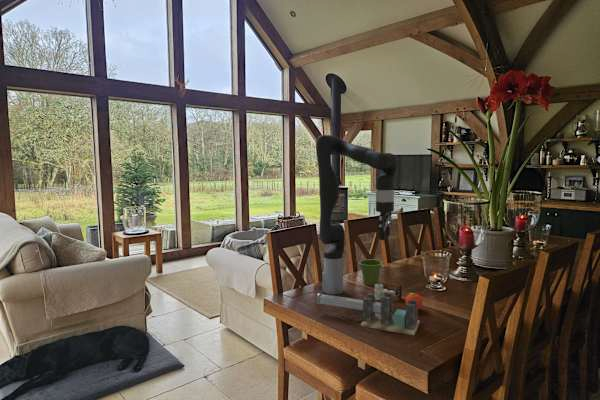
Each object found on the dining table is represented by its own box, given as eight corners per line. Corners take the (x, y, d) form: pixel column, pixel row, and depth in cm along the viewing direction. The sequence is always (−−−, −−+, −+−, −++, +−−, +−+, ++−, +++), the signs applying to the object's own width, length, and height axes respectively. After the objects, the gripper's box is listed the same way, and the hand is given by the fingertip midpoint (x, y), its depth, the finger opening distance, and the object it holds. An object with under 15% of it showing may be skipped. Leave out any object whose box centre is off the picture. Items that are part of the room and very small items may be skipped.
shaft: (316, 305, 163) (316, 294, 162) (320, 301, 167) (320, 291, 166) (386, 316, 150) (386, 305, 149) (389, 312, 154) (389, 301, 153)
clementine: (400, 308, 167) (400, 292, 167) (410, 304, 171) (410, 288, 171) (415, 314, 161) (416, 297, 160) (425, 309, 165) (426, 293, 164)
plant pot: (367, 278, 209) (367, 258, 208) (386, 283, 201) (387, 261, 200) (354, 283, 201) (354, 262, 200) (374, 289, 193) (374, 266, 191)
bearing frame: (360, 325, 151) (360, 297, 149) (369, 314, 161) (369, 287, 160) (414, 335, 142) (414, 304, 141) (419, 322, 152) (420, 294, 151)
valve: (374, 301, 177) (401, 302, 174) (374, 287, 176) (401, 288, 174) (374, 296, 183) (400, 297, 181) (374, 282, 182) (400, 283, 180)
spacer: (393, 313, 148) (404, 315, 146) (397, 309, 152) (407, 310, 150) (393, 325, 148) (404, 327, 147) (396, 320, 153) (407, 322, 151)
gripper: (380, 198, 174) (380, 234, 175) (371, 201, 161) (371, 240, 163) (397, 198, 170) (397, 235, 172) (389, 202, 158) (389, 241, 159)
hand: (384, 237), depth 167 cm, fingers open, 8 cm apart
